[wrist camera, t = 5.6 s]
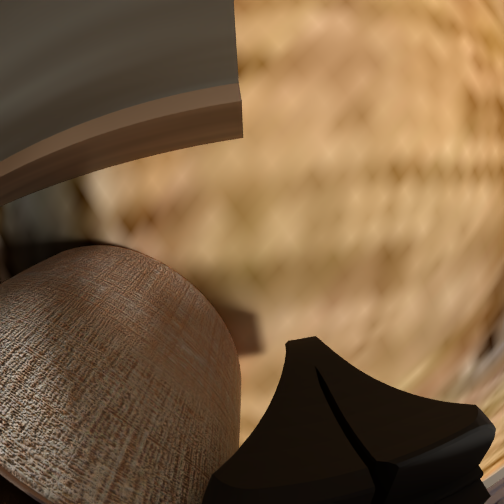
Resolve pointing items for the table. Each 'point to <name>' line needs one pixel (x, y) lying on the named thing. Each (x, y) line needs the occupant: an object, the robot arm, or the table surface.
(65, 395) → the planter
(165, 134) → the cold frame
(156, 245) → the table surface
